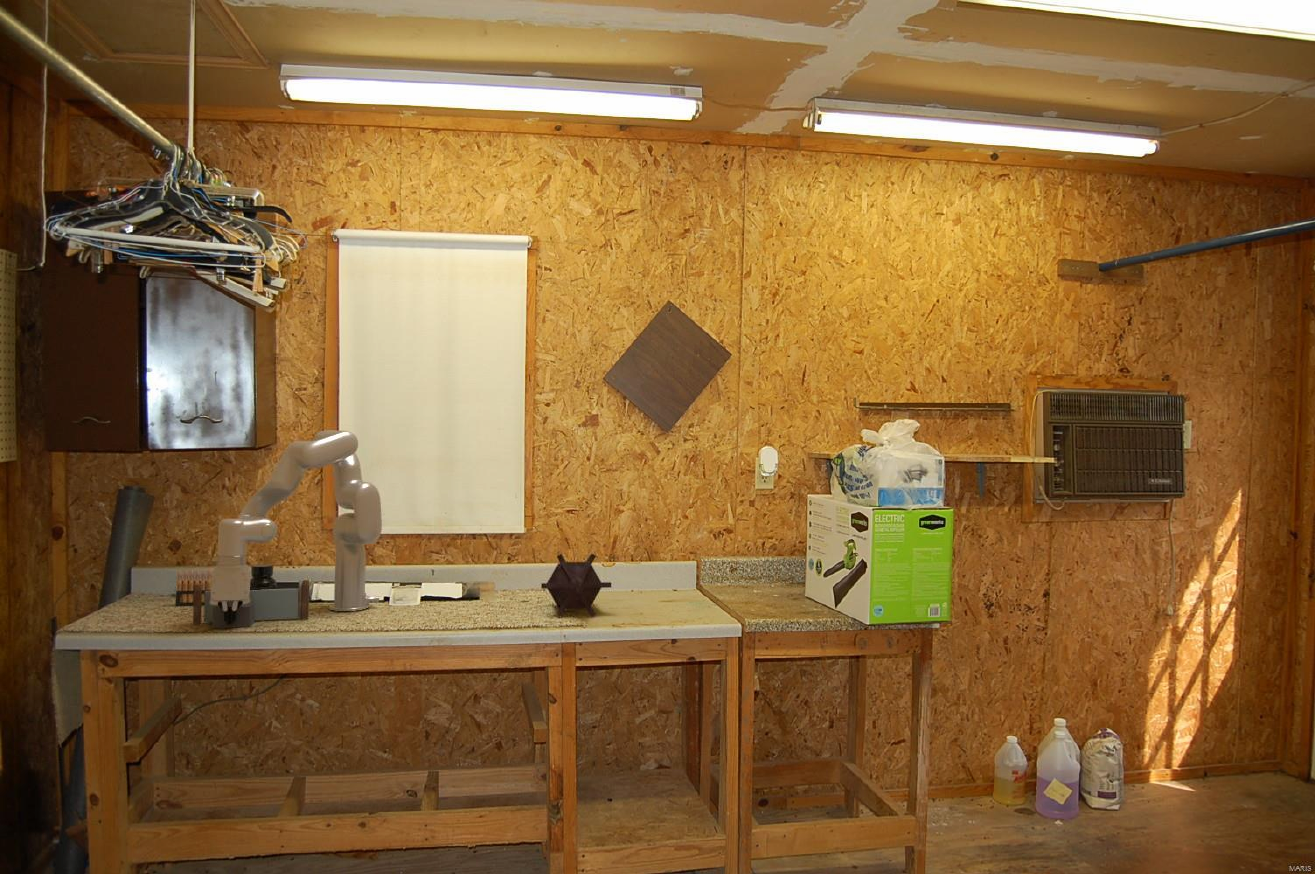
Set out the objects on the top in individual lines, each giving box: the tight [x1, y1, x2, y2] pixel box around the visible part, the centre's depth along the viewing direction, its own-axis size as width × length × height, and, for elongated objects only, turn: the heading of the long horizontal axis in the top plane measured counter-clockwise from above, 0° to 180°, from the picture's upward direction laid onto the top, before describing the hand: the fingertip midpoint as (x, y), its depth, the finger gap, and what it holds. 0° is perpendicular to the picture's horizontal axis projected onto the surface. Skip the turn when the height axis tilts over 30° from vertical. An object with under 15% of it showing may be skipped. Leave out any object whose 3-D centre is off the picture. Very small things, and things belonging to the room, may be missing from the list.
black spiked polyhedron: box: [540, 553, 612, 618], centre depth 279 cm, size 21×23×30 cm
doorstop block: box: [212, 603, 255, 629], centre depth 250 cm, size 10×6×6 cm, turn 105°
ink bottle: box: [250, 563, 277, 588], centre depth 288 cm, size 10×9×12 cm
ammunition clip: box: [174, 568, 212, 607], centre depth 277 cm, size 11×2×12 cm, turn 105°
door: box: [203, 587, 299, 623], centre depth 256 cm, size 26×2×9 cm, turn 108°
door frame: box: [192, 579, 310, 627], centre depth 256 cm, size 32×2×12 cm, turn 111°
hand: (229, 623), depth 246 cm, fingers closed
